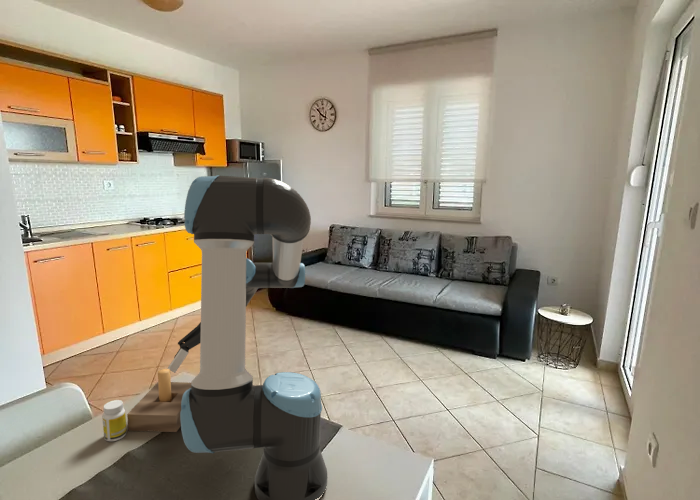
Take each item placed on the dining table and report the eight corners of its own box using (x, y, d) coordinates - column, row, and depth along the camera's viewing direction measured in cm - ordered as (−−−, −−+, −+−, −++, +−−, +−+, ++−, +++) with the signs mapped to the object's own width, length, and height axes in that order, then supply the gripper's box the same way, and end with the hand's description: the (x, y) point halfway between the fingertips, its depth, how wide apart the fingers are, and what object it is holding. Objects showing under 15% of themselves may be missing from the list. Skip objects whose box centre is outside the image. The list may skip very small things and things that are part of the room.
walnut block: (176, 431, 96) (175, 415, 96) (128, 430, 96) (127, 414, 95) (200, 397, 112) (199, 382, 111) (158, 395, 112) (158, 381, 111)
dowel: (169, 416, 103) (167, 374, 101) (157, 415, 103) (155, 374, 101) (173, 409, 106) (172, 369, 104) (162, 409, 106) (161, 368, 104)
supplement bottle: (131, 430, 96) (129, 399, 95) (118, 443, 92) (115, 410, 90) (113, 428, 97) (110, 398, 95) (99, 441, 92) (96, 409, 91)
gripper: (263, 328, 114) (222, 397, 104) (209, 310, 127) (168, 370, 117) (249, 316, 108) (204, 387, 98) (194, 298, 122) (150, 360, 112)
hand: (185, 378), depth 108 cm, fingers open, 13 cm apart
